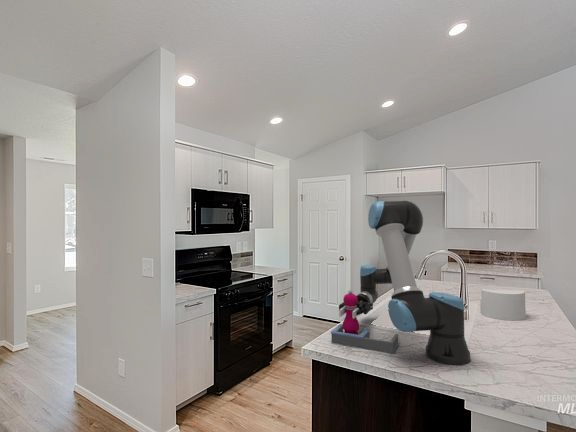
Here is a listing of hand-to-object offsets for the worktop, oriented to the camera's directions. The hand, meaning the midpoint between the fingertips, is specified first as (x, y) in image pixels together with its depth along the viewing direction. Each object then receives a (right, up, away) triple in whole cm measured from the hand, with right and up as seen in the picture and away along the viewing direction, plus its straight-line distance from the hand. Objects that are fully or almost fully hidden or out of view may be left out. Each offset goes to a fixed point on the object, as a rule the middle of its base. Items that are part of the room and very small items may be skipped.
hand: (346, 314), depth 139 cm
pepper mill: (+3, -11, +5) cm, 12 cm away
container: (+88, -11, +36) cm, 96 cm away
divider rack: (+8, -12, +1) cm, 15 cm away
